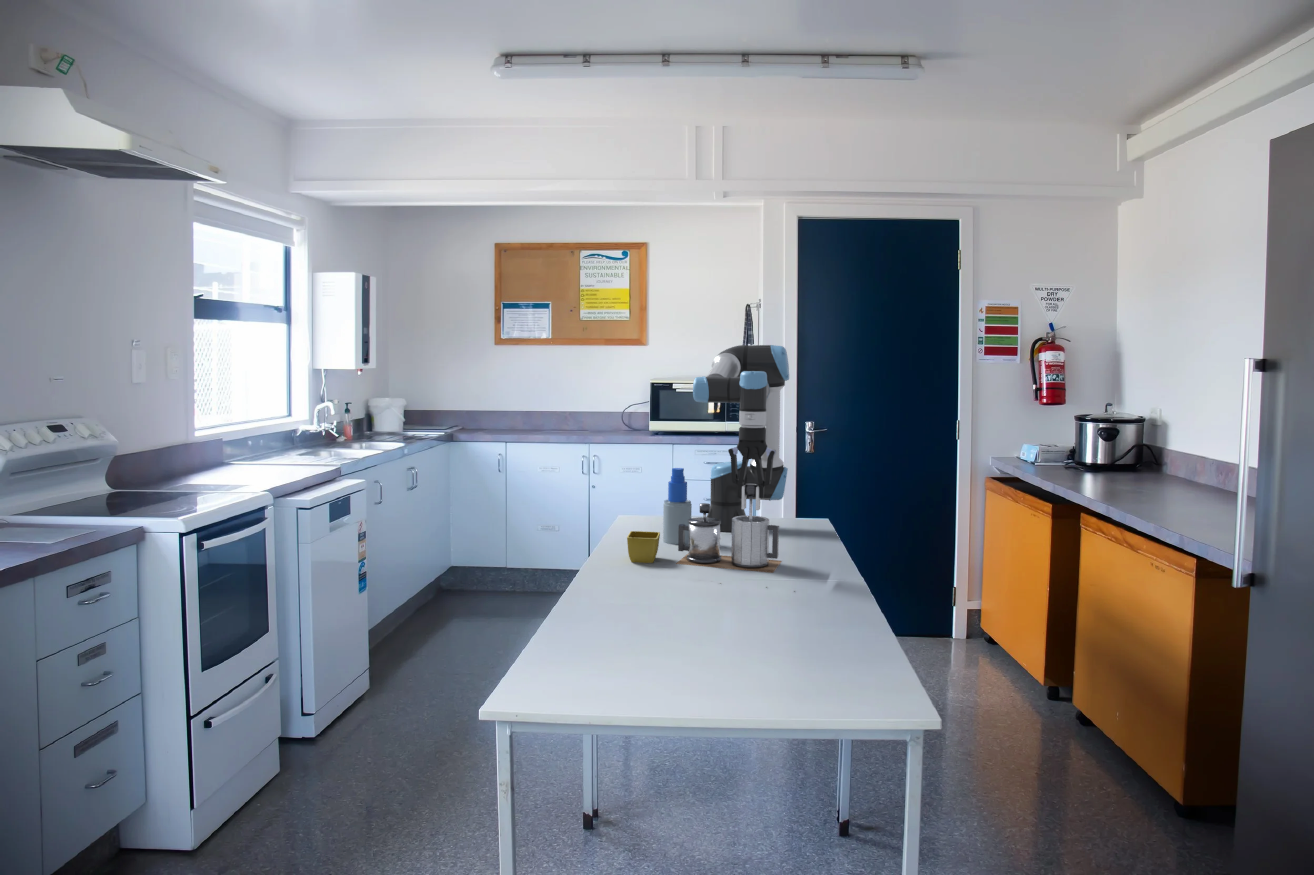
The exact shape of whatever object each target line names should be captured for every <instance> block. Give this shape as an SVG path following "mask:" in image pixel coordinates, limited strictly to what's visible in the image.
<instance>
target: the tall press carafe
mask: <svg viewBox="0 0 1314 875" xmlns="http://www.w3.org/2000/svg"><path fill="white" fill-rule="evenodd" d="M779 530H780V525H775V524H773V525H772V524H770V519H769V518H767V517H765V516H760V515H752V522H749V515H746V516H737V517H734V518H732V532H731V551H730V552H731V555H730V556H731V560H732V565H733V566H735V567H739V568H746V569H759V568H764V567H767V566H768V561H769V560H770V559H774V560H777V559H778V558H779V536H780V534H779V533H780V531H779ZM770 531H772V538H771V539H772V543H771V544H772V545H771V547H772V548H771V552H770Z"/></svg>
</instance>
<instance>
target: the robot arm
mask: <svg viewBox="0 0 1314 875" xmlns="http://www.w3.org/2000/svg"><path fill="white" fill-rule="evenodd" d="M788 358H789V357H788V354H787V349H786V347H785V346H784V345H776V344H775V345H774V344H757V345H756V344H752V345H751V344H750V345H749V344H747V345H746V344H739V345H735V346H732V347H729V348H726V349H724V350H723V351H721V352H719V353H718V354H717V355H716V356H715V357H714V359H713V360H712V362H711V369H710V371H709V372H708V374H707V375H706V376H697V377H695V378H694V380H693V384H692V396H693V400H694V401H695V402H697V403H705V404H707V403H710V404H711V403H714V404H715V403H716V404H717V403H720V404H721V403H722V404H724V403H727V404H729V403H730V404H739V414H738V416H739V417H738V419H739V420H738V425H740V426H739V428H738V443H737V444H736V446H735V447H731V448H729V449H728V454H729V456H730V461H725V462H720V463H716V464H714V465H713V466H712V467H711V470H710V477H709V478H710V503H709V504H710V513H706V517H708V518H716V519H719V520H721V524H720V532H731V533H732V518H734V517H737V516H747V514H746V511H745V509H747V500H750V496H746V495H745V484H757V487H756V496H753V500H755V511H759V510H761V501H762V500H763V501H770V502H771V501H780V500H782V499H783V498H784V496H785V490H786V484H787V477H788V471H789V470H788V469H789V468H788V467H786V466H784V464H785V463H784V461H783V460H782V459H781V458H780V444H781V443H780V435H781V432H780V430H781V429H780V425H781V421H780V420H781V390H782V389H783V388H784V387H785V386H786V381H789V380H790V366H789V359H788ZM738 452H739V453H740V455H741V457H742V460H741V461H740V460H739V461H738Z"/></svg>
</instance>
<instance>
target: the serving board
mask: <svg viewBox="0 0 1314 875" xmlns="http://www.w3.org/2000/svg"><path fill="white" fill-rule="evenodd" d="M687 555H689V552H688V553H687V554H686V555H684V556H683V557H682V558H680V560H678V561H677V562H675V564H676V565H683V566H694V567H705V568H716V569H717V568H718V569H727V570H737V571H749V572H759V573H770V574H774V572H775V571H776V570H777V568H778V567H779V566H780V564H781V563H782V562H783V560H777V559H769V561H768V566H767V567H764V568H759V569H746V568H739V567H735V566H733V565H732V560H731V555H723V554H722V555H721V554H720V556H721V562H719V563H715V564H695V563H691V562H689V561H687Z"/></svg>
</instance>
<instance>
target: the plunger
mask: <svg viewBox="0 0 1314 875" xmlns="http://www.w3.org/2000/svg"><path fill="white" fill-rule="evenodd" d="M756 487H757V484H745V495H746V496H750V499H748V502H749V503H748V504H749V505H748V506H749V508H748V509H749V510H748V512H749V513H748V516H749V522H752V516H753V506H754V504H753V503H754V502H753V501H754V499H753V496H756Z"/></svg>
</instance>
